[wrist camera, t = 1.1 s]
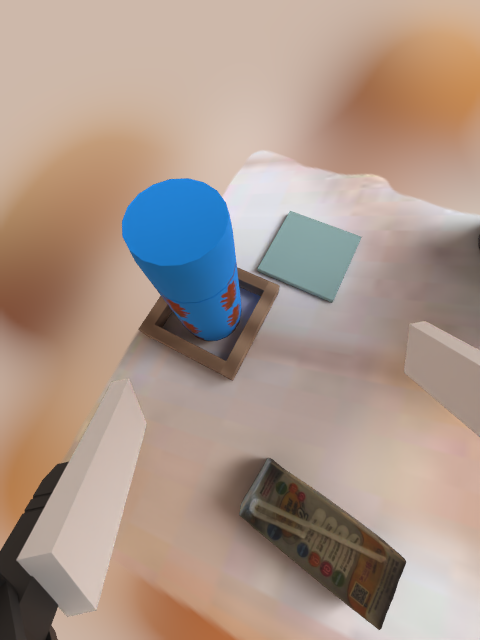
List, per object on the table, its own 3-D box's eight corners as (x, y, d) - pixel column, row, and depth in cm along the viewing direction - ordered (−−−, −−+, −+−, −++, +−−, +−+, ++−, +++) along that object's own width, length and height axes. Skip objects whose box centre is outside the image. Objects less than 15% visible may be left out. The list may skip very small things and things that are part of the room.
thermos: (222, 352, 47) (189, 287, 24) (172, 324, 49) (97, 239, 26) (252, 302, 50) (250, 199, 27) (204, 278, 52) (162, 163, 29)
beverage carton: (268, 453, 41) (270, 459, 35) (387, 540, 37) (414, 564, 31) (239, 503, 39) (236, 519, 33) (362, 601, 35) (385, 641, 29)
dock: (195, 257, 54) (192, 248, 51) (278, 293, 50) (279, 285, 48) (145, 334, 49) (138, 329, 46) (232, 380, 45) (231, 378, 42)
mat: (289, 214, 56) (290, 210, 55) (359, 240, 53) (361, 236, 52) (257, 271, 52) (257, 268, 51) (331, 302, 49) (333, 300, 48)
